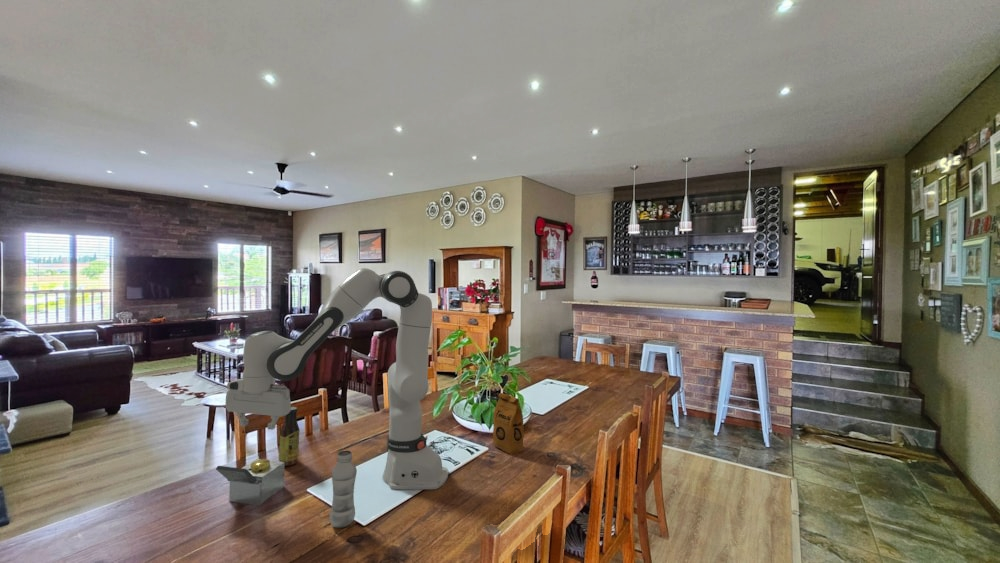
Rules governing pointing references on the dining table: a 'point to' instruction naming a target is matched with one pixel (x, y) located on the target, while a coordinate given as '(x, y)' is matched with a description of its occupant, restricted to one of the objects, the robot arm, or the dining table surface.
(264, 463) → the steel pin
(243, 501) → the grey box-shaped block
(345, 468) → the plastic bottle
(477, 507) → the dining table surface
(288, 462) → the sauce bottle
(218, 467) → the dark grey flat plate
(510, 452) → the coffee package
